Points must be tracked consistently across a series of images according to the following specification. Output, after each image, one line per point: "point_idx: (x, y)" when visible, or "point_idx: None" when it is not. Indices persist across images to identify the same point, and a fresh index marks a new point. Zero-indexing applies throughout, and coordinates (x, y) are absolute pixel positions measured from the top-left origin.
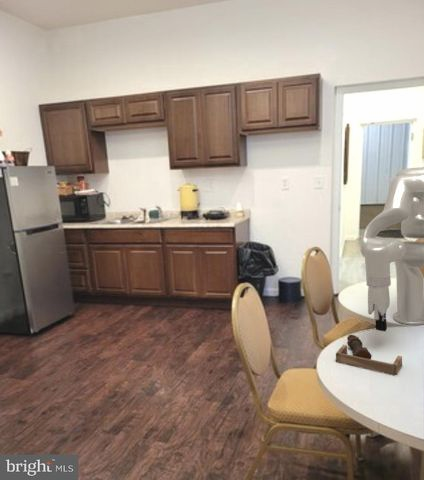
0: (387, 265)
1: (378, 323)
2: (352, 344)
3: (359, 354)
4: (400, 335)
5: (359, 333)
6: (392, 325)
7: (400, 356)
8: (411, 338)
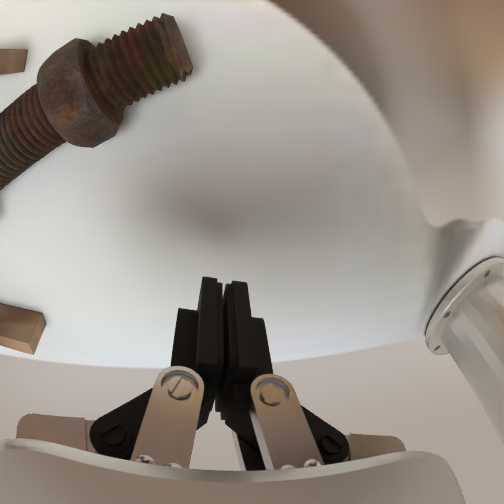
0: None
1: (173, 356)
2: (18, 99)
3: None
4: (345, 302)
5: (362, 93)
6: (443, 260)
7: (28, 350)
8: (315, 338)
